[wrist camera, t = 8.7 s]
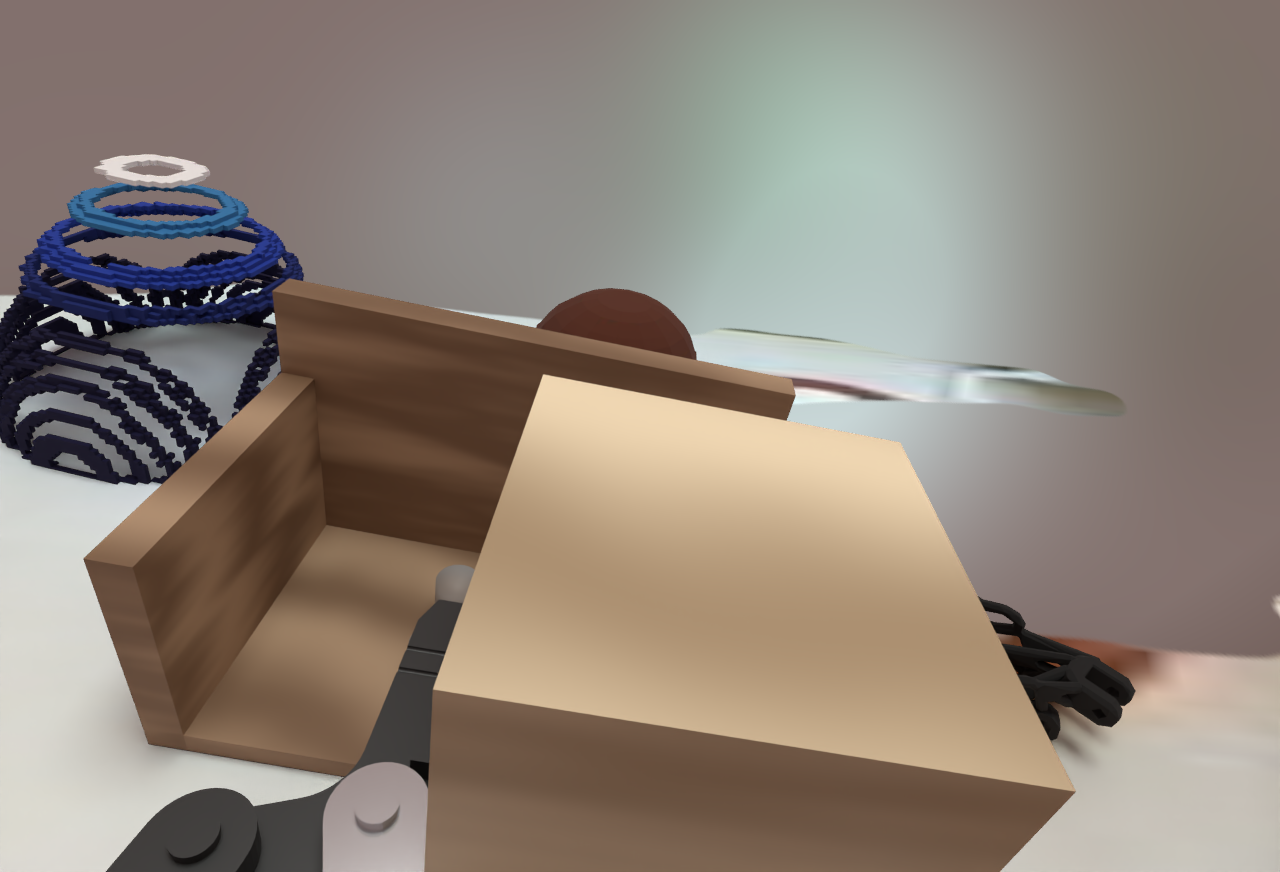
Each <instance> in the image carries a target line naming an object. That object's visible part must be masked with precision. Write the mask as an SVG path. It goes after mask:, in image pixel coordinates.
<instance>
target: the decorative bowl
mask: <svg viewBox="0 0 1280 872" xmlns="http://www.w3.org/2000/svg"><path fill="white" fill-rule="evenodd" d="M100 164H101V166H97V167H94V171H95V173H99V174H103V175H105V177H106V179H107V180H111V181H116V182H120V183H117V184H113V185H110V186H106V187H103V188H93V189H89V190H86V191H82V192H81V194H80V195H77V196H74V199H72V200H71V202H70V203H67V206H68V209H69V213H70V216H71V218H69V219H66V220H63V221H60V222H57V223H55V226H53V227H51V228H52V229H51V230H48V231H46V232H44V235H41V238H40V239H37V243H38V246H39V247H38V248H35V249H34V250H33V254H30V255H27V256H25V260H26V264H23V265H20V266H19V269H20V271H24V274H25V275H24V276H21V277H20V278H21V283H22V285H26V286H20V287H19V291H20V294H19V295H17V296H16V297H17V298H14V299H13V301H14V304H11V305H10V306H11V308H9V309H6V310H7V311H6V312H4V318H1V323H0V438H1V440H2V443H6V445H7V447H8V448H12V449H16V450H20V451H21V454H22V455H23V456H22V458H23V459H27V460H31V463H32V464H33V465H37V466H41V467H45V468H50V469H54V470H58V471H62V472H67V473H71V474H75V475H79V476H83V477H88V478H92V479H96V480H100V481H105V482H109V483H113V484H118V483H120V482H125V483H129V484H133V485H136V484H137V483H138V482H140V483H145V484H149V483H150V482H151V481H152V482H156V483H160V484H163V483H164V482H165V481H166V480H167V479H169V478H170V477H171V476H172V475H173V474H174V473H175V472H176V471H177V470H178V469H179V468H180V467H181V466H182V465H181V462H179V461H176V462H174V463H173V462H172V459H174V458H175V453H172V452H169V453H168V454H167V455H166V451H165V447H163V446H160V445H159V440H158V438H157V437H153V434H152V432H148V431H147V428H146V427H143V426H141V422H138V421H135V417H133V416H130V415H129V411H125V409H126V408H127V404H126V403H122V402H121V399H120V398H118V397H115V398H113V399H108V397H109V396H110V392H109V391H105V390H101V389H99V385H97V384H93V383H88V382H84V381H80V380H76V379H72V378H67V377H63V376H59V375H55V374H50V373H49V374H47V375H45V376H42V375H40V376H38V377H37V378H33V377H29V376H30V375H32V374H34V373H36V371H35V370H38V371H40V370H42V369H44V368H43V365H48V366H54V365H56V363H57V364H61V365H65V366H69V367H74V368H78V369H82V370H86V371H91V372H95V373H99V374H100V376H101V378H103V379H107V380H111V381H118V380H119V379H121V380H125V381H130V382H128V383H126V384H124V383H120V382H114V383H113V384H112V386H113V388H114V389H118V390H122V391H123V393H124V395H126V396H129V398H130V400H131V401H135V403H136V406H139V407H143V408H146V411H147V412H148V413H152V417H153V418H156V419H158V423H161V424H163V425H164V428H166V429H170V428H172V427H173V431H172V432H171V433H170V435H171V438H176V442H177V446H178V447H184V446H185V445H186V450H184V451H183V454H184V458H185V463H186V462H187V461H188V460H189V459H190V458H191V457H192V456H193V455H194V454H195V453H196V452H197V451H198V450H199V446H198V444H199V443H201V438H198V437H195V438H194V439H192V435H188V434H187V431H186V426H182V425H181V424H180V421H181V420H182V419H183V415H182V414H178V413H177V409H173V408H172V409H170V410H169V411H168V407H167V406H163V404H162V401H159V400H158V399H159V398H160V393H156V392H155V391H154V387H153V384H152V383H147V382H143V381H139V380H138V378H137V376H135V375H131V374H127V370H126V369H123V368H119V367H114V366H110V367H109V368H105V367H101V366H97V365H92V364H88V363H84V362H80V361H75V360H71V359H67V358H63V357H58V356H57V355H59V354H61V353H62V352H64V351H66V350H68V349H70V348H73V349H78V350H82V351H86V352H90V353H95V354H99V355H103V356H105V355H106V354H112V355H116V356H121V357H123V359H124V362H128V363H133V364H137V365H139V368H140V369H141V370H145V371H149V372H150V376H153V377H155V378H156V381H157V382H161V383H160V384H158V389H160V390H163V391H164V395H168V396H169V397H170V400H173V401H175V404H176V405H177V406H181V410H182V411H188V410H189V409H190V414H189V415H187V418H188V420H191V421H193V425H196V426H198V427H199V430H201V431H205V430H206V429H207V432H208V437H207V438H206V439H205V440H206V443H207V442H208V441H209V440H210V439H211V438H212V437H213V436H214V435H215V434H216V433H217V432H218V431H220V430H221V429H222V428H223V426H221V425H218V423H217V417H215V416H211V417H209V418H208V414H209V413H210V412H211V409H210V407H206V406H205V402H201V401H200V398H199V397H196V396H194V391H193V388H192V387H188V383H187V382H183V381H179V380H178V379H177V376H175V375H172V372H171V370H167V369H163V368H161V369H160V370H158V368H157V366H154V365H150V364H148V363H149V362H151V360H150V357H147V356H145V354H144V352H143V351H139V350H135V349H131V348H129V349H127V350H122V349H118V348H113V347H111V345H110V342H106V341H102V340H98V339H100V338H102V337H104V336H106V335H113V334H115V333H122V332H126V333H127V332H129V331H131V330H133V329H134V328H137V329H140V328H146V327H150V328H151V327H158V326H160V325H161V326H166V325H168V324H169V325H175V324H180V325H185V326H186V325H188V324H193V325H195V324H197V323H200V324H203V323H211V322H213V323H218V322H221V323H226V324H230V323H236V322H237V323H242V324H246V325H250V326H254V327H259V328H260V327H261V326H262V327H266V328H271V329H273V330H272V331H271V332H269V333H268V334H267V337H268V338H267V339H265V340H264V341H263V342H262V343H263V346H266V348H265V349H263V348H259V349H258V350H256V351H255V356H254V357H253V358H252V359H253V362H252V363H251V364H249V365H248V366H247V368H248V370H247V371H246V372H245V377H244V378H243V383H242V384H241V385H240V386H241V389H240V390H239V391H238V394H239V395H238V396H237V397H236V402H235V403H234V408H237V409H239V412H240V411H241V410H242V409H243V408H244V407H245V406H246V405H247V404H248V403H249V402H250V401H251V400H252V399H254V398H255V397H256V396H257V395H258V393H260V392H261V389H260V387H256V386H257V385H258V381H264V380H265V379H266V378H268V374H267V373H268V372H270V366H272V365H273V364H274V363H276V362H277V357H278V356H279V347H278V338H277V329H276V325H275V324H270V323H266V322H265V323H264V324H263V320H264V319H266V317H268V316H269V315H271V314H272V312H273V313H275V311H274V303H273V294H272V291H273V290H274V289H276V288H277V287H278V286H280V285H281V284H282V283H284V282H285V281H287V280H288V279H289V278H290V279H295V280H300V281H303V277H304V274H303V273H302V267H301V266H300V264H299V262H298V258H297V257H296V256H294V254H293V253H289V252H286V250H285V246H283V243H282V241H281V240H280V238H279V237H278V236H277V235H276V234H275V233H274V231H271V230H269V229H268V228H266V227H264V226H262V225H261V224H258V223H257V222H255V221H254V219H252V218H248V217H247V213H248V212H249V211H248V208H247V207H246V206H245V204H244V203H243V202H241V201H238V199H235V198H232V197H231V196H228V195H226V194H225V192H224V191H219V190H215V189H211V188H206V187H202V186H198V185H194V183H197V182H200V181H203V180H206V179H205V177H207V176H210V171H209V170H208V168H207V167H206V166H202V165H198V164H196V162H192V161H187V160H183V159H179V158H175V157H170V156H169V157H163V156H159V155H154V154H152V155H147V154H143V155H140V156H137V155H131V156H127V157H126V156H119V157H114V158H111V159H106V160H103V161H100ZM147 165H153V166H155V165H160V166H164V167H169V168H173V169H177V170H181V172H180V173H177V174H173V175H170V176H167V177H165V176H159V177H157V176H153V175H149V174H148V175H145V176H144V175H141V174H136V173H132V172H128V168H131V167H135V166H142V167H143V166H147ZM133 190H138V191H142V192H145V191H148V190H153V191H156V190H161V191H165V192H167V191H173V192H174V191H180V192H184V193H185V192H188V193H196V194H201V195H204V196H205V197H210V198H213V199H218V201H219V203H220V204H221V206H222V207H223V209H216V208H212V207H208V206H202V207H200V206H196V205H192V206H189V205H184V204H181V205H177V204H173V203H171V204H165V203H161V202H154V204H150V203H146V202H140V203H137V204H134V205H131V204H127V205H124V206H119V205H116V206H111V205H109V206H106V207H103V208H100V209H98V208H95V206H94V203H95V202H98V201H100V198H103V197H106V196H109V195H113V194H116V193H119V192H122V191H126V192H130V191H133ZM144 214H146V215H151V214H153V215H157V214H161V215H164V214H169V215H173V216H174V215H183V214H184V215H188V216H193V215H196V216H200V218H198V219H196V220H193V221H187V220H185V221H183V222H182V221H175V222H173V221H168V222H164V221H160V222H154V221H150V220H147V221H140V220H137V219H132V218H129V219H123V218H118V216H122V217H125V216H131V217H132V216H141V215H144ZM81 224H82V225H83V226H87V227H91V228H88V229H86V230H83V231H80V232H77V233H75V234H71V235H69V236H66V237H63V236H62V234H63V233H66V232H69V231H70V230H69V229H70V228H73V227H75V226H78V225H81ZM240 224H242V226H243V227H247V228H251V229H254V232H257V233H259V234H258V235H257V234H252V233H248V232H244V231H240V230H236V229H233V228H235V227H238V226H240ZM203 235H206V236H212V235H213V236H218V237H222V238H225V237H230V238H234V239H238V240H242V241H247V242H251V243H255V244H256V245H255V247H256V248H254V249H253V250H252V253H251V254H249V255H247V254H242V253H238V252H234V251H232V252H227V251H222V250H218V251H217V253H216V252H211V253H210V254H205V253H201V254H200V256H197V258H190V260H189V261H187V263H185V264H184V266H182V267H180V266H177V267H175V268H174V267H168V268H166V269H163V270H161V269H157V268H153V267H146V268H142V266H140V265H138V263H135V262H134V263H131V262H129V261H128V260H127V259H121V260H119V261H117V257H113V256H109V254H106V253H105V254H102V255H99V256H97V257H93V256H90V257H83V256H81V253H77V252H76V251H75V249H71V248H67V247H65V246H67V245H70V244H73V243H75V242H78V241H81V240H84V242H90V241H93V240H96V239H105V238H108V237H111V238H115V237H119V238H121V237H124V236H130V237H133V236H140V237H144V238H146V237H149V236H150V237H154V238H158V239H163V240H164V239H166V238H168V239H174V238H176V237H183V238H188V239H189V238H192V237H194V236H198V237H201V236H203ZM281 256H282V257H283V260H284V261H285V263H287V264H286V268H285V269H284V268H281V266H279V264H278V259H280V258H281ZM222 259H223V260H224V261H223V260H222ZM229 259H231V260H229ZM40 263H45V264H47V266H48V267H50V268H48V269H46V270H44V272H43V273H41V276H39V275H38V274H37V273H38V271H37V270H40V269H41V267H40V266H41V264H40ZM92 263H93V264H95V265H101V267H103V268H101V267H99V266H92V265H89V264H92ZM209 263H211V264H209ZM106 267H108V268H106ZM59 273H62V274H59ZM56 274H59V275H57V276H55V277H52V276H54V275H56ZM272 276H274V277H278V278H279V279H276V278H273V277H272ZM50 277H52V278H50ZM72 278H74V279H77V280H75V281H73V282H70V283H68V284H66V285H63V286H61V287H59V288H58V287H52V286H55V285H57V284H59V283H62V282H64V281H67V280H69V279H72ZM245 278H248V279H252V280H254V279H260V280H263V281H262V283H259V282H254V281H250V280H245ZM244 280H245V282H243V283H242V281H244ZM83 281H87V282H91V283H96V284H100V285H104V286H106V287H113V288H116V290H117V293H118V294H121V297H122V299H124V300H125V301H127V302H130V301H132V302H130V303H129V304H130V305H128V304H127V305H125V306H120V305H119V304H120V303H119V300H113V301H112V298H111V297H108V295H105V294H104V293H101V292H100V291H99V290H96V289H95V288H92V286H91V285H90V284H87V282H83ZM232 282H236V283H242V285H240V284H236V285H235V286H234V287H233V288H232V289H230V290H229V291H228V292H227V293H226V294H227V299H226V300H224V301H222V302H221V303H219V304H216V302H215V300H217V299H218V298H219V297H221V295H223V294H224V290H223V289H226V287H228V286H229V284H232ZM211 285H215V287H214V288H213V289H211V287H210V286H211ZM218 285H220V287H219V286H218ZM258 287H259V288H263V289H262V290H261V291H259V292H258V293H259V294H258V293H251V292H250V291H251V289H254V290H257V289H258ZM134 288H140V289H145V290H147V289H149V292H150V293H149V294H147V298H148V302H151V303H152V307H149V305H147V304H145V305H142V301H143V300H145V298H144V296H142V295H140V296H137V293H134V292H133V289H134ZM163 289H165V290H163ZM180 290H187V294H185V295H184V292H182V291H180ZM209 290H211V293H212V297H211V298H209V301H210V302H207V303H206V304H203V300H200V298H201V299H204V298H206V297H205V296H208V291H209ZM245 291H248V292H250V293H249V294H247V295H245V296H243V295H242V293H245ZM164 297H169V300H170V305H165V307H163V306H164V301H163V298H164ZM184 302H185V303H186V305H188V306H187V307H185V308H183V304H182V303H184ZM43 304H47V305H49V306H46V307H44V305H43ZM63 310H64V312H69V313H72V314H74V315H76V316H79V315H81V316H82V319H84V320H87V321H88V322H91V326H92V330H93V333H94V334H97V335H92V336H90V337H85V336H84V335H83V332H79V330H78V326H77V323H73V322H72V321H68V319H65V318H64V317H61V316H59V317H57V318H55V319H53V320H51V321H49V322H47V323H44V324H42V325H40V326H38V325H37V322H39V321H41V320H43V319H45V318H47V317H50V316H52V315H54V314H56V313H58V312H61V311H63ZM29 315H31V318H30V316H29ZM28 318H29V319H28ZM233 318H235V319H236V321H234V320H233ZM104 321H107V322H108V325H111V326H112V329H113V330H112V331H110V332H108V333H107V331H106V327H105V323H104ZM23 322H25V325H24V323H23ZM134 325H137V326H134ZM37 326H38V327H37ZM35 327H36V328H35ZM33 328H34V329H33ZM17 330H18V331H19V332H18V331H17ZM15 335H16V338H15ZM50 340H53V341H54V343H55V344H56V345H61V346H65V347H63V348H61V349H59V350H57V351H55V352H51V351H46V350H42V347H41V345H42V344H44V343H47V342H49V341H50ZM12 341H13V342H12ZM272 343H275V344H276V345H275V346H274V347H272V348H270V347H268V346H269V345H271V344H272ZM257 367H260V368H262V369H261V370H257V369H256V368H257ZM280 373H281V372H280ZM280 373H278V375H279V374H280ZM11 378H13V380H14V381H15V382H13V383H11V384H9V383H8V382H10V381H11ZM22 379H23V380H22ZM20 380H22V381H20ZM169 381H170V382H174V383H175V387H174V388H173V389H172V388H171V385H170V384H166V383H168V382H169ZM58 391H63V392H68V393H72V394H76V395H79V394H80V393H86V394H85V395H84V396H83V398H84V400H85V401H89V402H93V403H97V404H99V406H100V408H102V409H106V410H110V412H111V415H115V416H119V417H121V419H122V422H120V423H119V424H118V425H119V428H122V429H124V430H125V433H126V434H130V435H131V439H135V440H136V441H137V444H141V445H143V444H144V443H145V442H146V445H147V446H148V447H152V452H151V453H150V454H149V456H150V458H152V459H155V458H157V457H158V458H159V461H158V462H156V466H157V467H159V468H162V467H163V466H165V468H166V472H167V476H162V477H161V478H156V477H154V478H153V479H152V480H151V478H150V474H149V470H148V466H147V465H146V464H142V460H141V459H137V458H136V454H135V451H134V450H130V449H129V445H125V444H124V443H123V440H119V439H118V438H117V435H114V434H112V432H111V430H109V429H105V428H101V426H100V423H96V422H95V421H94V418H92V417H87V416H83V415H79V414H75V413H70V412H66V411H62V410H58V409H53V408H48V409H46V410H40V411H38V412H31V413H30V414H29V415H28V416H26V417H25V419H23V420H22V421H21V422H20V423H19V424H18V425H16V429H17V431H16V430H15V427H14V425H13V424H15V423H16V421H15V417H17V416H18V415H17V411H18V410H20V406H19V404H20V403H22V401H23V400H25V399H26V397H28V396H29V395H30V396H34V395H36V394H37V393H38V394H43V393H44V392H51V393H56V392H58ZM2 397H3V398H2ZM186 397H187V398H191V400H192V403H191V404H190V405H189V404H188V401H186V400H184V399H185V398H186ZM237 414H238V412H234V413H233V414H232V418H233V417H234V416H235V415H237ZM53 420H56V421H60V422H65V423H69V424H73V425H77V426H82V427H86V428H90V429H92V430H93V433H95V434H98V435H99V438H100V439H104V440H105V443H106V444H109V445H114V446H115V447H116V450H117V454H120V455H122V456H123V459H125V460H128V461H129V465H130V469H131V472H132V475H126V476H125V477H121V476H119V473H118V472H114V471H113V468H112V465H111V461H110V459H106V458H105V456H104V454H100V453H99V451H98V449H95V448H93V446H92V444H90V443H85V442H81V441H77V440H73V439H69V438H64V437H60V436H56V435H52V434H47V435H45V436H38V437H37V438H36V439H35V440H33V441H32V442H33V445H34V446H32V444H31V441H30V440H31V439H33V438H34V437H33V435H32V433H33V432H35V428H34V427H37V428H38V427H40V426H41V425H42V424H43V423H45V422H48V423H50V422H52V421H53ZM208 423H210V427H208V428H207V426H206V424H208ZM14 435H15V437H14ZM30 450H31V451H32V452H31V451H30ZM63 452H65V453H69V454H73V455H77V457H78V459H79V460H83V461H84V464H85V465H89V466H90V469H91V470H94V471H96V474H93V473H88V472H84V471H80V470H76V469H71V468H67V467H63V466H59V465H57V464H59V462H58V461H53V460H54V459H55V458H56V457H58V456H59V455H60V454H61V453H63Z"/></svg>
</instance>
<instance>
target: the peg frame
mask: <svg viewBox="0 0 1280 872" xmlns="http://www.w3.org/2000/svg"><path fill="white" fill-rule="evenodd" d="M272 294H273V303H274V311H275V320H276V329H277V338H278V347H279V356H280V365H281V373H280V374H279V375H278V376H277V377H276V378H275V379H274V380H273V381H272V382H271V383H269V384H268V385H267V386H266V387H265V388H264V389H263V390H262V391H261V392H260V393H259V394H258V395H257V396H256V397H255V398H254V399H252V400H251V401H250V402H249V403H248V404H247V405H246V406H245V407H244V408H243V409H242V410H241V411H240V412H239V413H238V414H237V415H235V416H234V417H233V418H232V419H231V420H230V421H229V422H228V423H227V424H226V425H225V426H224V427H223V428H222V429H221V430H220V431H218V432H217V433H216V434H215V435H214V436H213V437H212V438H211V439H210V440H209V441H208V442H207V443H206V444H205V445H204V446H203V447H201V448H200V449H199V450H198V451H197V452H196V453H195V454H194V455H193V456H192V457H191V458H190V459H189V460H188V461H187V462H186V463H184V464H183V465H182V466H181V467H180V468H179V469H178V470H177V471H176V472H175V473H174V474H173V475H172V476H171V477H170V478H169V479H167V480H166V481H165V482H164V483H163V484H162V485H161V486H160V487H159V488H158V489H157V490H156V491H155V492H154V493H153V494H152V495H150V496H149V497H148V498H147V499H146V500H145V501H144V502H143V503H142V504H141V505H140V506H139V507H138V508H137V509H136V510H135V511H133V512H132V513H131V514H130V515H129V516H128V517H127V518H126V519H125V520H124V521H123V522H122V523H121V524H120V525H119V526H118V527H116V528H115V529H114V530H113V531H112V532H111V533H110V534H109V535H108V536H107V537H106V538H105V539H104V540H103V541H102V542H101V543H99V544H98V545H97V546H96V547H95V548H94V549H93V550H92V551H91V552H90V553H89V554H88V555H87V556H86V557H85V558H84V562H85V565H86V568H87V570H88V573H89V576H90V579H91V582H92V585H93V587H94V590H95V593H96V596H97V599H98V602H99V604H100V607H101V610H102V613H103V616H104V619H105V621H106V624H107V627H108V630H109V633H110V636H111V638H112V641H113V644H114V647H115V650H116V653H117V655H118V658H119V661H120V664H121V667H122V670H123V672H124V675H125V678H126V681H127V684H128V687H129V689H130V692H131V695H132V698H133V701H134V704H135V706H136V709H137V712H138V715H139V718H140V720H141V723H142V726H143V729H144V732H145V735H146V737H147V740H148V743H149V744H153V745H159V746H165V747H170V748H176V749H182V750H188V751H194V752H200V753H206V754H212V755H218V756H224V757H230V758H236V759H242V760H248V761H254V762H260V763H266V764H272V765H278V766H284V767H290V768H296V769H302V770H308V771H314V772H320V773H326V774H332V775H338V776H344V777H345V776H346V775H347V774H348V773H349V772H350V771H351V770H352V769H353V768H354V767H355V765H356V764H357V762H358V761H359V759H360V758H361V756H362V754H363V752H364V750H365V748H366V745H367V743H368V740H369V738H370V735H371V733H372V731H373V728H374V726H375V723H376V721H377V718H378V716H379V714H380V711H381V709H382V706H383V704H384V701H385V699H386V696H387V694H388V692H389V689H390V687H391V684H392V682H393V679H394V677H395V675H396V672H398V669H399V665H400V662H401V660H402V658H403V655H404V653H405V651H406V650H407V646H408V643H409V641H410V638H411V636H412V633H413V631H414V628H415V626H416V624H417V621H418V619H419V618H420V617H421V616H422V615H423V614H424V613H426V612H427V611H428V610H429V609H430V608H431V607H432V606H433V605H434V604H435V603H436V602H437V601H438V600H439V599H440V600H446V601H452V602H458V603H463V602H464V599H465V596H466V593H467V591H468V588H469V585H470V582H471V579H472V576H473V574H474V571H475V568H476V565H477V562H478V559H479V556H480V554H481V551H482V548H483V545H484V542H485V539H486V536H487V534H488V531H489V528H490V525H491V522H492V519H493V516H494V514H495V511H496V508H497V505H498V502H499V499H500V496H501V494H502V491H503V488H504V485H505V482H506V479H507V477H508V474H509V471H510V468H511V465H512V462H513V459H514V457H515V454H516V451H517V448H518V445H519V442H520V439H521V437H522V434H523V431H524V428H525V425H526V422H527V419H528V417H529V414H530V411H531V408H532V405H533V402H534V399H535V397H536V394H537V391H538V388H539V385H540V382H541V379H542V377H543V374H544V375H549V376H554V377H560V378H565V379H570V380H575V381H581V382H586V383H591V384H596V385H601V386H607V387H612V388H617V389H622V390H628V391H633V392H638V393H643V394H649V395H654V396H659V397H664V398H670V399H675V400H680V401H685V402H691V403H696V404H701V405H706V406H711V407H717V408H722V409H727V410H732V411H738V412H743V413H748V414H753V415H759V416H764V417H769V418H774V419H780V420H785V421H787V418H788V415H789V412H790V410H791V407H792V404H793V401H794V399H795V396H796V395H795V391H794V387H793V383H792V379H787V378H782V377H777V376H772V375H767V374H762V373H757V372H752V371H747V370H742V369H737V368H732V367H728V366H723V365H718V364H713V363H708V362H703V361H698V360H693V359H688V358H683V357H678V356H673V355H668V354H663V353H658V352H653V351H648V350H643V349H638V348H633V347H628V346H623V345H618V344H613V343H608V342H603V341H598V340H593V339H588V338H583V337H578V336H573V335H568V334H563V333H558V332H553V331H548V330H543V329H538V328H533V327H528V326H523V325H519V324H514V323H509V322H504V321H499V320H494V319H489V318H484V317H479V316H474V315H469V314H464V313H459V312H454V311H449V310H444V309H439V308H434V307H429V306H424V305H419V304H414V303H409V302H404V301H399V300H393V299H389V298H384V297H379V296H374V295H369V294H364V293H359V292H354V291H349V290H344V289H339V288H334V287H329V286H324V285H319V284H314V283H309V282H304V281H300V280H295V279H290V278H289V279H288V280H287V281H285V282H284V283H282V284H281V285H280V286H278V287H277V288H276V289H274V290H273V291H272Z"/></svg>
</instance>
